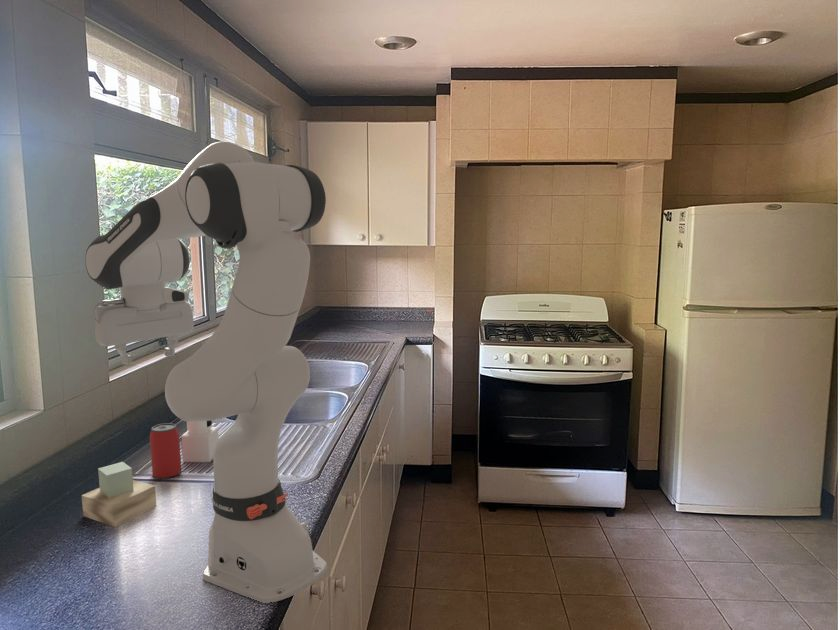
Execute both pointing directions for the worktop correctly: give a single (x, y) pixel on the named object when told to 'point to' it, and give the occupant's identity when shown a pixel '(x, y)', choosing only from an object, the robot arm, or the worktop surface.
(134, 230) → the robot arm
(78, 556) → the worktop surface
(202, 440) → the medicine bottle
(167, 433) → the beer can
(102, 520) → the birch block
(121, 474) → the sage block
